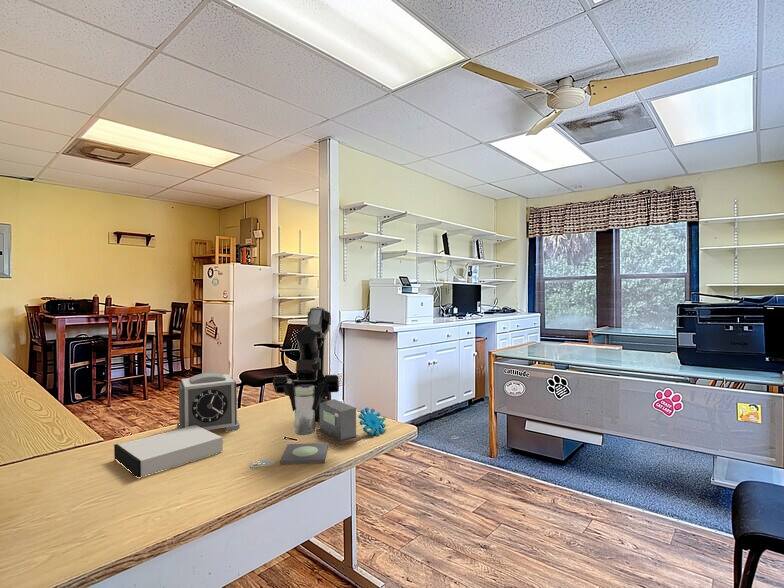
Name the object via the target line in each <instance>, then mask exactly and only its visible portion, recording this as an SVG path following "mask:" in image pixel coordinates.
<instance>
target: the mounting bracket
mask: <svg viewBox="0 0 784 588" xmlns="http://www.w3.org/2000/svg"><path fill="white" fill-rule="evenodd" d="M256 460H257V461H260V462H257V461H256ZM256 460H254V461H255V462H254V463H257V464H249V465H250V466H249V468H250V469H252V470H253V468H254V469H259V468H260V467H261V466H262V465H266V466H265V467H270V466H272V465H275V464H276V462H275V461H273V460H270V459H267V458H264V457H260V458H258V459H256ZM252 462H253V461H250V463H252ZM258 463H261V464H258ZM263 463H265V464H263ZM257 465H258V466H257ZM260 465H261V466H260Z"/></svg>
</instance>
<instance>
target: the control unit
mask: <svg viewBox="0 0 784 588" xmlns="http://www.w3.org/2000/svg"><path fill="white" fill-rule="evenodd" d="M315 432H316V433H315ZM315 432H314V433H315V434H317V435H318V436H320V435H321V436H320V437H322V436H323V438H324V439H326V440H328V441H329V440H330V442H331V443H333V444H335V445H336V446H339V447H340V446H343V445H346V444H349V443H353V442H357V441H361V437H362V436H361V435H360V434H357V407H354V406H352V405H349V404H347V403H345V402H342V401H340V400H337V399H331V400H328V401H323V402H320V421H319V428H317V429H316V428H315Z"/></svg>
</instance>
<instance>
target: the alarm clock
mask: <svg viewBox="0 0 784 588" xmlns="http://www.w3.org/2000/svg"><path fill="white" fill-rule="evenodd" d="M237 398H238V397H237V381H236V380H235V379H234V378H233V377H232V376H231V375H229V374H228V373H226V374H222V373H218V372H202V373H200V374H196V375H193V376H191V377H188V378H187V377H186V378H181V382H178V414H179V416H178V419H179V421H178V422H177V423H176V430H178V429H181V428H185V427H189V426H193V425H197V426H199V427H201V428H203V429H205V430H208V431H210V430H218V429H222V428H223V429H224V428H225V429H224V430H226V431H228V432H233V431H232V430H234V431H239V430H240V429H239V428H241V423H240V422H239V421H238V413H237V412H238V411H237V410H238V408H237V407H238V406H237V405H238V404H237V403H238V400H237ZM179 424H180V425H179ZM238 429H239V430H238ZM226 431H225V432H226Z"/></svg>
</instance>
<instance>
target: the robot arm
mask: <svg viewBox="0 0 784 588" xmlns="http://www.w3.org/2000/svg"><path fill="white" fill-rule="evenodd" d="M331 315H332V314H331V312H330V311H327V310H325V308H323V307H311V308H310V309H309V311H308V312H307V321H306V323H307V325H304V327H303V326H302V329H301V330H299V331H298V332H297V334H296V343H297V347H298V351H299V353H300V354H299V355H300V356H299V359H297V360H296V364H295V365H296V366H295V377H296V378H297V379H293V378H289V376H288V375H275V376H274V377H273V379H272V385H273V389H274V393H276V394H284V395H285V396H288V398H289V400H290V404H291V405H290V406H291V409H292V412H295V395H294V387H295V386H296V385H301V384H312V385H314V386H315V402H314V411H315V422H320V402H323V401H328V400H332V393H338V392H339V391H340V379H339V376H338V375H337V374H324V367H325V366H324V365H325V341H326V336H327V334H328V333H329V331H330V326H331V324H332V317H331Z"/></svg>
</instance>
